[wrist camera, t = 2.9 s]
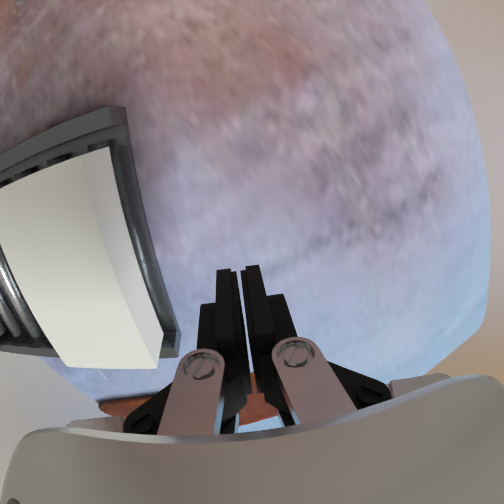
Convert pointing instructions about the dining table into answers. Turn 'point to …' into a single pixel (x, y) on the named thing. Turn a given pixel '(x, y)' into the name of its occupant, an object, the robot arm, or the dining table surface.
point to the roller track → (118, 140)
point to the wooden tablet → (248, 414)
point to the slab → (80, 264)
